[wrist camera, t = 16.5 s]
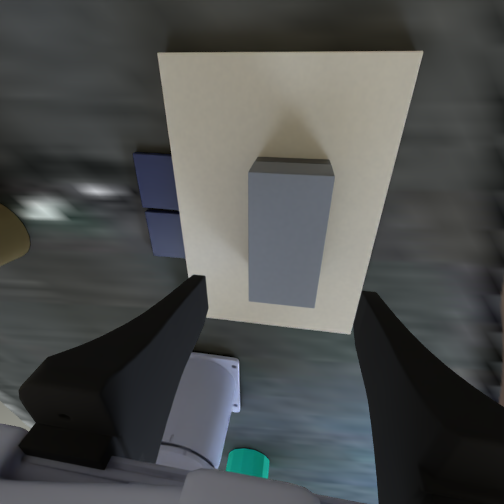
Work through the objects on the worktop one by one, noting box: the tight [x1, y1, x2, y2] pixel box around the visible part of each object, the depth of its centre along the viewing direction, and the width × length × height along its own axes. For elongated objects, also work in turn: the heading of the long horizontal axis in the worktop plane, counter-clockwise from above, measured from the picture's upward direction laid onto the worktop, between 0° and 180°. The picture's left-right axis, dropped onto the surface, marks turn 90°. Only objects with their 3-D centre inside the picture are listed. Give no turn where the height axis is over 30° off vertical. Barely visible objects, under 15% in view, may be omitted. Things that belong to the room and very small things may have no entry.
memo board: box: [157, 51, 423, 334], centre depth 21 cm, size 20×14×1 cm
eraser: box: [248, 157, 335, 308], centre depth 19 cm, size 9×4×4 cm, turn 0°
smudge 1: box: [145, 210, 186, 258], centre depth 23 cm, size 4×3×1 cm
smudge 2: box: [133, 152, 179, 210], centre depth 21 cm, size 4×3×1 cm
